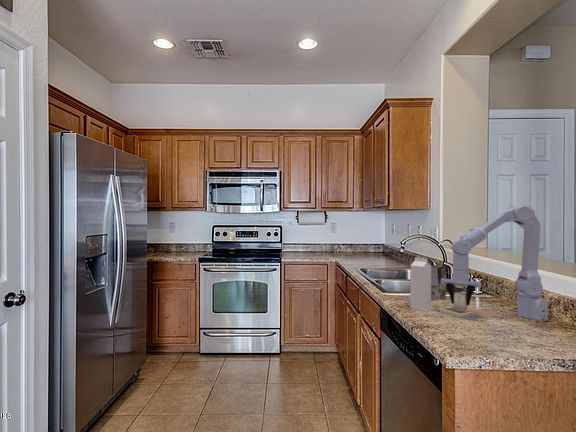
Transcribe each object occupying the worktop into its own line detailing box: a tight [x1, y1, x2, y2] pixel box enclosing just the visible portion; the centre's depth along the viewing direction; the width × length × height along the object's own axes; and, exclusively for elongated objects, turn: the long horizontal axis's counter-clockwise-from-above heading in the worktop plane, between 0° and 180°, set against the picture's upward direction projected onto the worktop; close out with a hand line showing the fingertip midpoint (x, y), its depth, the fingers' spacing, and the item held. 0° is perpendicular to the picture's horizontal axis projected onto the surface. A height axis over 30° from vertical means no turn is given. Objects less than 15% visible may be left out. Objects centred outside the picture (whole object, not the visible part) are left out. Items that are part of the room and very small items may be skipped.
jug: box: [453, 291, 468, 310], centre depth 156 cm, size 10×5×6 cm, turn 145°
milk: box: [409, 257, 432, 312], centre depth 163 cm, size 6×6×22 cm
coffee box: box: [430, 264, 447, 302], centre depth 184 cm, size 9×6×16 cm
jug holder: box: [432, 306, 502, 321], centre depth 156 cm, size 18×19×2 cm
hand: (460, 303), depth 155 cm, fingers closed on jug, 5 cm apart
